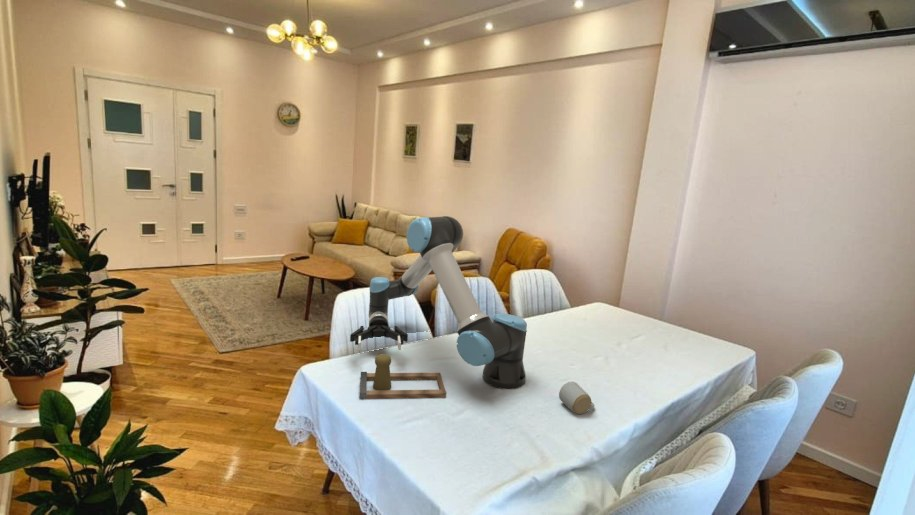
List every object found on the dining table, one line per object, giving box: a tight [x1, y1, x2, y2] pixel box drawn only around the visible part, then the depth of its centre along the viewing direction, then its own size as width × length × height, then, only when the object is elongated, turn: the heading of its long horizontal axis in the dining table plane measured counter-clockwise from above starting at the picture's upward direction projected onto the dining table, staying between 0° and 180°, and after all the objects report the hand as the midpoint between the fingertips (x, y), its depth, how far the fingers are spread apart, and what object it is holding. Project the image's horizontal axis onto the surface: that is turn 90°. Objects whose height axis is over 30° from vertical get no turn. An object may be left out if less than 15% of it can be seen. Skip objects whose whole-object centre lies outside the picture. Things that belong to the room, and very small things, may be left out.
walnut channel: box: [365, 372, 447, 400], centre depth 148 cm, size 25×14×2 cm, turn 100°
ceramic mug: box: [558, 381, 595, 415], centre depth 144 cm, size 11×8×8 cm
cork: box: [372, 353, 392, 390], centre depth 146 cm, size 6×6×11 cm
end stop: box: [358, 371, 368, 400], centre depth 146 cm, size 2×14×2 cm, turn 10°
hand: (379, 346), depth 155 cm, fingers open, 13 cm apart
